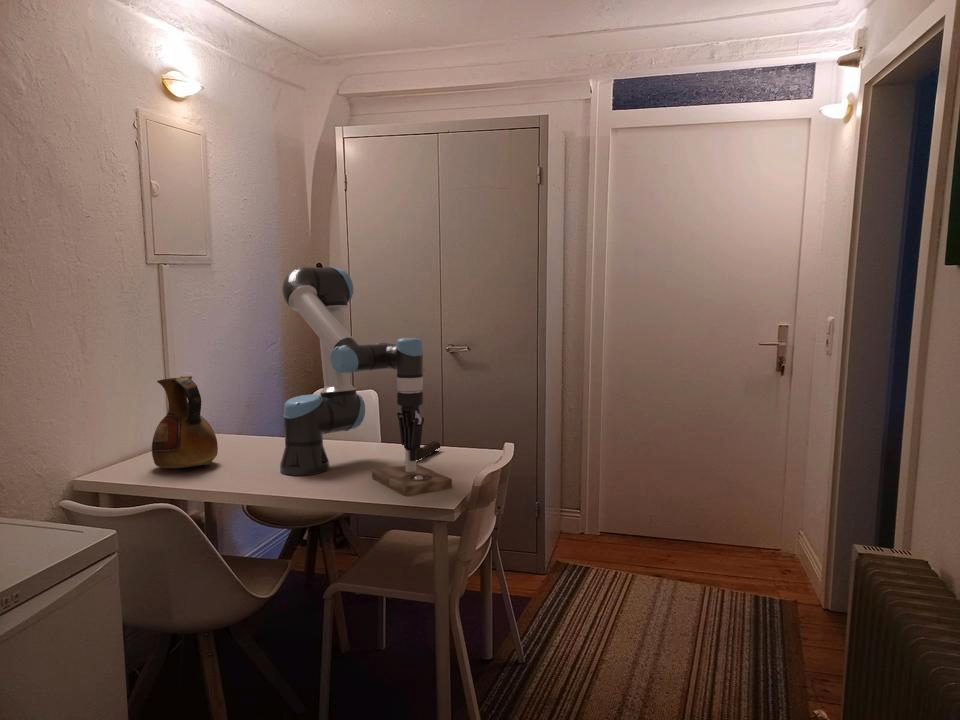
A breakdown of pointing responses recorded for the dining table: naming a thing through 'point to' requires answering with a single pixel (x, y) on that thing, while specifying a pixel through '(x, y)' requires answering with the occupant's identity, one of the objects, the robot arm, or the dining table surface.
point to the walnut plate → (411, 480)
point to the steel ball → (418, 477)
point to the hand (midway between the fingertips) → (410, 470)
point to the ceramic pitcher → (183, 428)
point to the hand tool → (427, 449)
